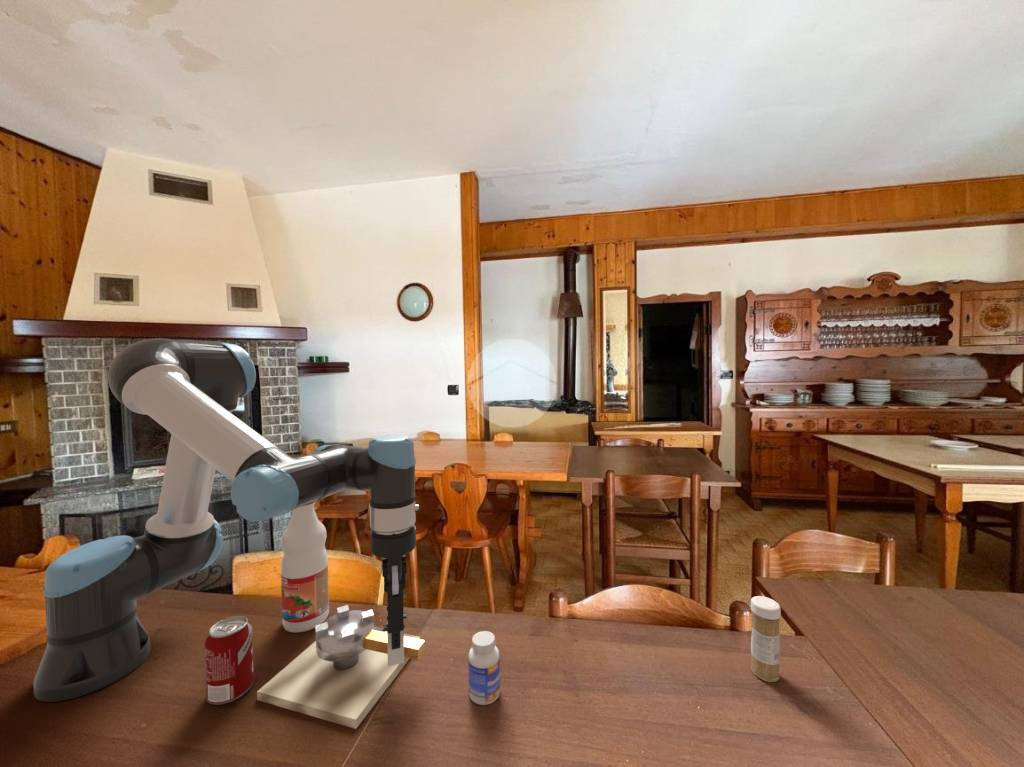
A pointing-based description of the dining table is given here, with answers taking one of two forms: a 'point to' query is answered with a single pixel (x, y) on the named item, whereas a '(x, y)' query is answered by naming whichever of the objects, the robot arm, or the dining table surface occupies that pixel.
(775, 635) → the sprinkles bottle
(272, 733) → the dining table surface
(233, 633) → the soda can
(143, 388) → the robot arm
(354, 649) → the frying pan on burner
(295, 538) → the fruit juice
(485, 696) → the pill bottle
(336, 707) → the board
